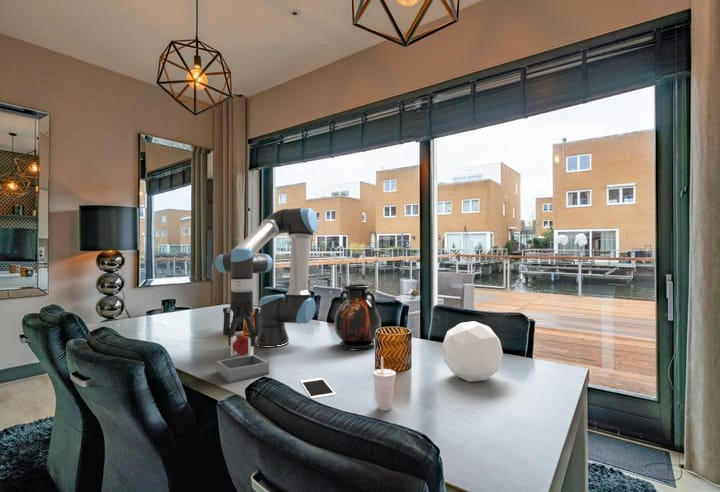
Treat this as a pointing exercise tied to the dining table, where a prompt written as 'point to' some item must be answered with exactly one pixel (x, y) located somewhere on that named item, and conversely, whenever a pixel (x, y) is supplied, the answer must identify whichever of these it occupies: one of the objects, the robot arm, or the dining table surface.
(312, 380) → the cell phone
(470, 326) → the geometric orb
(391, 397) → the smoothie
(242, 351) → the onion
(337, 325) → the amphora vase
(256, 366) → the box
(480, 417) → the dining table surface
